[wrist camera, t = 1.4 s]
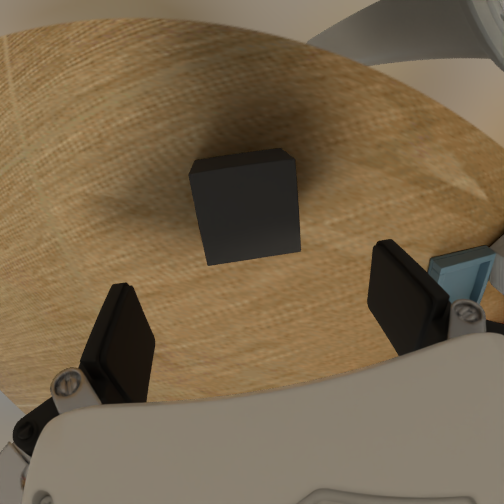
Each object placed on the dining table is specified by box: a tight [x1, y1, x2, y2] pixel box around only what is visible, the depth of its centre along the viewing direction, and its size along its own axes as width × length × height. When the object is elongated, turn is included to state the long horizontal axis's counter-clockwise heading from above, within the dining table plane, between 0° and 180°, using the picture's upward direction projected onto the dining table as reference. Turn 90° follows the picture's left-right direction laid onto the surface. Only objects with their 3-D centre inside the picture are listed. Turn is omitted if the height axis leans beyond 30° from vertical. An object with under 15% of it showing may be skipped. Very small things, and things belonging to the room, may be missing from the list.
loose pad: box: [189, 148, 301, 266], centre depth 19 cm, size 6×6×4 cm
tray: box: [428, 245, 496, 304], centre depth 28 cm, size 15×9×2 cm, turn 7°
